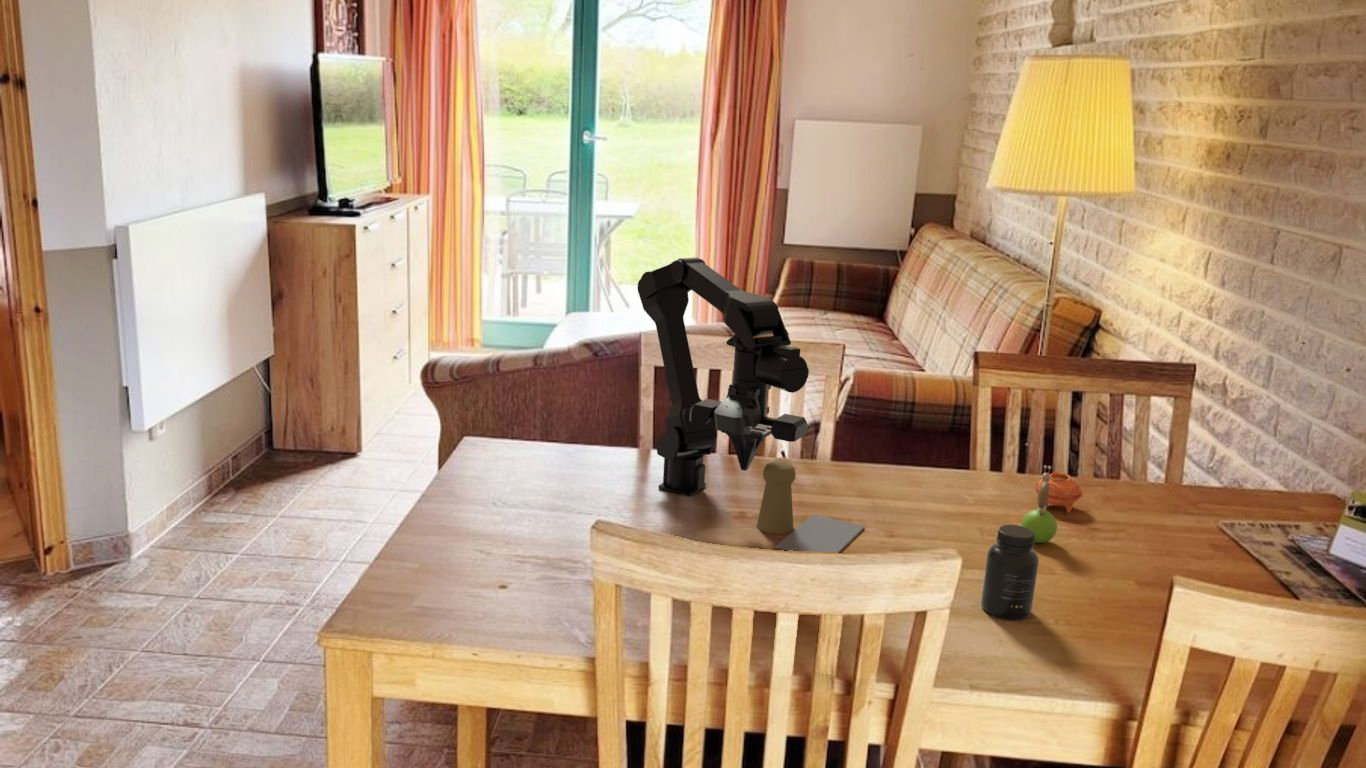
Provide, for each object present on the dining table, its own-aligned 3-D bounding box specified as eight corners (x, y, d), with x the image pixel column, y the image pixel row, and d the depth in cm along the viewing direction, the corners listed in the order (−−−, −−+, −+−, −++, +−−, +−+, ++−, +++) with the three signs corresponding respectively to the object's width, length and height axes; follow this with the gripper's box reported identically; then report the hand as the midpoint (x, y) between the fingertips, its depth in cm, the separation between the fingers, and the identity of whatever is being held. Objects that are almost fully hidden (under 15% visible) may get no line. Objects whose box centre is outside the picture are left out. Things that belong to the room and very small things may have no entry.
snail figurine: (1054, 536, 177) (1065, 467, 174) (1054, 550, 171) (1065, 480, 168) (1020, 530, 179) (1030, 462, 176) (1019, 544, 173) (1029, 474, 170)
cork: (791, 536, 171) (797, 471, 168) (754, 531, 172) (759, 467, 169) (795, 522, 177) (800, 459, 174) (759, 518, 178) (763, 455, 175)
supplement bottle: (973, 598, 153) (983, 520, 149) (1019, 599, 153) (1030, 521, 150) (990, 621, 146) (1001, 540, 143) (1038, 622, 147) (1051, 541, 143)
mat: (775, 548, 166) (775, 545, 166) (813, 516, 180) (813, 514, 180) (829, 562, 162) (830, 559, 162) (864, 528, 176) (864, 526, 176)
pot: (1092, 510, 189) (1092, 476, 186) (1058, 525, 186) (1058, 491, 184) (1058, 493, 196) (1058, 460, 193) (1026, 507, 193) (1025, 474, 190)
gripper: (675, 378, 168) (671, 471, 172) (784, 398, 160) (777, 496, 164) (707, 365, 178) (702, 454, 182) (812, 383, 170) (804, 476, 174)
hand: (744, 469), depth 175 cm, fingers closed
